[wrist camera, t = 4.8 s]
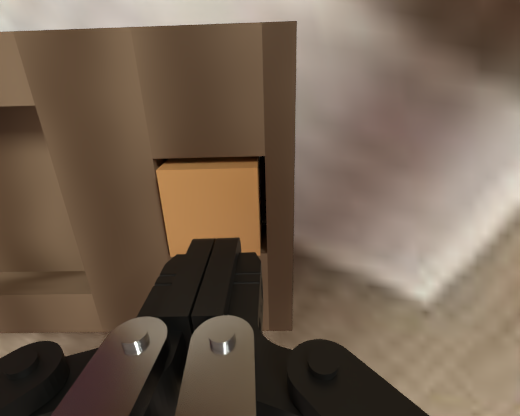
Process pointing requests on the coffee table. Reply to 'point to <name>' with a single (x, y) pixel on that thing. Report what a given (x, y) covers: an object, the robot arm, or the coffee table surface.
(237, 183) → the button
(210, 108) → the brown wooden tray
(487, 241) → the coffee table surface
